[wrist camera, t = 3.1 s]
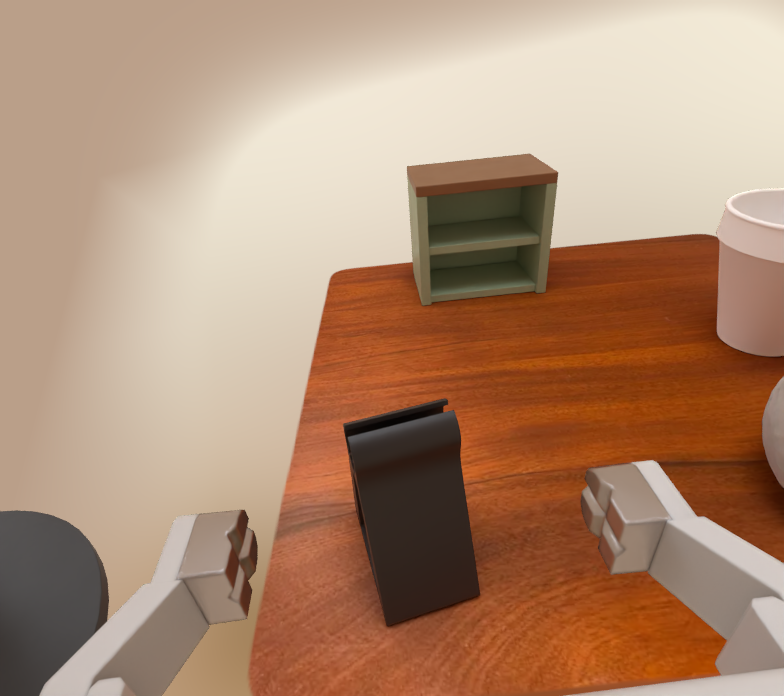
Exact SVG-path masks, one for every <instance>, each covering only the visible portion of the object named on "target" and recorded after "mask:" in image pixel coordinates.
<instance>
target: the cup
mask: <svg viewBox="0 0 784 696" xmlns="http://www.w3.org/2000/svg"><path fill="white" fill-rule="evenodd" d="M725 207H726V209H725V211H724V214H723V217H722V219H721V222H720V224H719V226H718V229H717V232H716V234H717V236H718V239H719V240H720V249H719V279H718V309H717V334H718V336H719V338H720V339H721V340H722V341H723V342H725V343H726V344H727V345H729V346H731V347H733V348H735V349H738V350H740V351H743V352H746V353H750V354H754V355H760V356H784V188H775V189H774V188H773V189H759V190H751V191H746V192H742V193H738V194H736V195H734V196H732V197H730V198H729V199H728V200H727V202H726V204H725Z"/></svg>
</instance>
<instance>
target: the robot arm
mask: <svg viewBox="0 0 784 696" xmlns="http://www.w3.org/2000/svg"><path fill="white" fill-rule="evenodd" d="M585 480H586V482H587V484H588V486H587V487H586V488H585V489H584V490H583V491H582V495H581V508H582V514H583V517H584V520H585V523H586V525H587V527H588V529H589V531H590V532H591V533H593V534H594V535H596V536H597V537H598V538H600V541H599V545H598V549H599V552H600V554H601V556H602V558H603V560H604V562H605V564H606V566H607V568H608V570H609V572H610V574H622V573H633V572H643V571H648V573H649V574H650V575H651V576H652V577H653V578H654V579H656V580H657V581H658V582H659V583H660V584H661V585H663V586H664V587H665V588H666V589H667V590H668V591H670V592H671V593H672V594H673V595H674V596H676V597H677V598H678V599H679V600H680V601H681V602H683V603H684V604H685V605H686V606H687V607H688V608H690V609H691V610H692V611H693V612H694V613H695V614H697V615H698V616H699V617H700V618H701V619H702V620H704V621H705V622H706V623H707V624H708V625H710V626H711V627H712V628H713V629H714V630H715V631H717V632H718V633H719V634H720V635H721V636H722V637H724V638H725V639H726V640H727V642H726V644H725V645H724V647H723V649H722V650H721V652H720V654H719V655H718V657H717V659H716V662H715V665H716V667H717V669H718V671H719V672H720V674H721V676H716V677H708V678H700V679H692V680H684V681H676V682H668V683H661V684H653V685H644V686H638V687H637V686H636V687H629V688H622V689H613V690H605V691H597V692H590V693H582V694H573V695H565V696H784V563H782V562H780V561H779V560H777V559H775V558H774V557H772V556H770V555H769V554H767V553H765V552H763V551H762V550H760V549H758V548H757V547H755V546H753V545H752V544H750V543H748V542H746V541H745V540H743V539H741V538H740V537H738V536H736V535H735V534H733V533H731V532H730V531H728V530H726V529H724V528H723V527H721V526H719V525H718V524H716V523H714V522H713V521H711V520H709V519H707V518H706V517H697V516H696V514H695V513H694V512H693V510H692V509H691V508H690V506H689V505H688V504H687V502H686V501H685V500H684V498H683V497H682V495H681V494H680V493H679V491H678V490H677V489H676V487H675V486H674V485H673V483H672V482H671V481H670V479H669V478H668V477H667V475H666V474H665V473H664V471H663V470H662V469H661V467H660V466H659V464H658V463H656V462H655V461H653V460H650V461H642V462H633V463H622V464H614V465H607V466H599V467H592V468H589V469H588V470H587V471H586V475H585ZM248 519H249V518H248V516H247V514H246V512H245V510H235V511H225V512H214V513H203V514H194V515H184V516H178V517H177V518H176V519H175V521H174V522H173V523H172V526H171V529H170V532H169V534H168V537H167V540H166V542H165V545H164V548H163V551H162V553H161V556H160V559H159V562H158V564H157V567H156V570H155V572H154V575H153V578H152V581H151V583H148V584H144V585H143V586H142V587H141V588H140V589H139V590H138V591H137V592H136V593H135V594H134V595H133V596H132V597H131V598H130V599H129V600H128V601H127V602H126V603H125V604H124V605H123V606H122V607H121V608H120V609H119V610H118V611H117V612H116V613H115V614H114V615H113V616H112V617H111V618H110V619H109V620H108V621H107V622H106V623H105V624H104V625H103V626H102V627H101V628H100V629H99V630H98V631H97V632H96V633H95V634H94V635H93V636H92V637H91V638H90V639H89V640H88V641H87V642H86V643H85V644H84V645H83V646H82V647H81V648H80V649H79V650H78V651H77V652H76V653H75V654H74V655H73V656H72V657H71V658H70V659H69V660H68V661H67V662H66V663H65V664H64V665H63V666H62V667H61V668H60V669H59V670H58V671H57V672H56V673H55V674H54V675H53V676H52V677H51V678H50V679H49V680H48V681H47V682H46V683H45V685H44V687H43V689H42V691H41V693H40V695H39V696H162V695H163V694H164V692H165V691H166V689H167V688H168V686H169V685H170V683H171V682H172V681H173V679H174V678H175V676H176V675H177V673H178V672H179V671H180V669H181V668H182V666H183V665H184V663H185V662H186V660H187V659H188V658H189V656H190V655H191V653H192V652H193V650H194V649H195V647H196V646H197V645H198V643H199V642H200V640H201V639H202V638H203V636H204V635H205V633H206V632H207V630H208V629H209V625H211V624H218V623H225V622H231V621H238V620H244V619H247V616H248V610H249V604H250V600H251V594H252V589H251V586H250V584H249V582H248V580H249V579H250V578H251V576H252V575H253V574H254V573H255V571H256V565H257V541H256V537H255V534H254V531H253V530H251V529H250V528H248V527H247V524H248Z"/></svg>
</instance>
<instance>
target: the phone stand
mask: <svg viewBox="0 0 784 696" xmlns="http://www.w3.org/2000/svg"><path fill="white" fill-rule="evenodd" d="M445 405H448V400H447V399H440V400H436V401H432V402H428V403H424V404H420V405H416V406H412V407H408V408H404V409H400V410H396V411H392V412H388V413H384V414H380V415H376V416H372V417H368V418H364V419H360V420H356V421H352V422H348V423H344V424H343V427H344V433H345V438H346V443H347V448H348V454H349V462H350V469H351V477H352V484H353V492H354V499H355V507H356V511H357V515H358V519H359V522H360V526H361V530H362V534H363V538H364V541H365V545H366V549H367V553H368V557H369V560H370V564H371V568H372V572H373V575H374V579H375V583H376V587H377V591H378V594H379V598H380V602H381V606H382V610H383V613H384V617H385V621H386V625H387V626H389V625H392V624H395V623H398V622H401V621H404V620H407V619H410V618H413V617H416V616H419V615H422V614H425V613H428V612H431V611H434V610H437V609H440V608H443V607H446V606H449V605H452V604H455V603H458V602H461V601H464V600H467V599H469V598H472V597H475V596H478V595H480V590H479V584H478V577H477V570H476V563H475V557H474V550H473V543H472V536H471V529H470V523H469V516H468V509H467V502H466V496H465V489H464V482H463V475H462V468H461V459H460V448H461V435H460V429H459V425H458V421H457V418H456V415H455V412H454V410H452V411H448V412H444V413H443V407H444V406H445Z"/></svg>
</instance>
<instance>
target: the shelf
mask: <svg viewBox="0 0 784 696" xmlns="http://www.w3.org/2000/svg"><path fill="white" fill-rule="evenodd" d="M407 175H408V193H409V208H410V225H411V239H412V240H411V241H412V257H413V273H414V277H415V281H416V284H417V288H418V292H419V296H420V300H421V303H422V306H423V305H431V302H439V301H448V300H458V299H467V298H476V297H486V296H495V295H504V294H513V293H523V292H532V291H535V292H536V293H544V292H545V291H546V281H547V272H548V263H549V254H550V244H551V235H552V226H553V216H554V207H555V198H556V189H557V177H558V172H557V171H555V170H553V169H552V168H551V167H549V166H548V165H546V164H545V163H543V162H542V161H540V160H539V159H537V158H536V157H534V156H533V155H531V154H523V155H513V156H503V157H493V158H484V159H474V160H464V161H455V162H446V163H435V164H426V165H416V166H407Z"/></svg>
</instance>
